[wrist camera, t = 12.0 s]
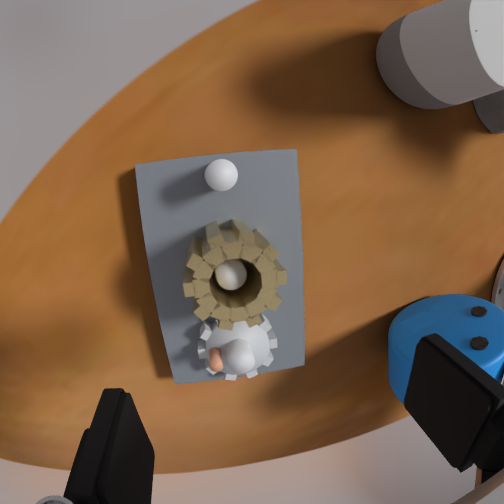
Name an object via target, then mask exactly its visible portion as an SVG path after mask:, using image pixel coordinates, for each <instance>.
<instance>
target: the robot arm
mask: <svg viewBox="0 0 504 504" xmlns="http://www.w3.org/2000/svg"><path fill="white" fill-rule="evenodd" d="M491 303H493V304H495V305H496V306H498V307H499V308H500V309H501V310H503V311H504V259H503V261H502V263H501V265H500V267H499V270H498V272H497V275H496V279H495V282H494V286H493V291H492V299H491ZM404 406H405V408H406V410H407V411H408V412H409V413H410V415H411V416H412V417H413V418H414V419H415V421H416V422H417V423H418V425H419V426H420V427H421V428H422V429H423V431H424V432H425V433H426V434H427V436H428V437H429V438H430V439H431V441H432V442H433V443H434V444H435V446H436V447H437V448H438V449H439V451H440V452H441V453H442V455H443V456H444V457H445V458H446V460H447V461H448V462H449V463H450V465H451V466H452V467H454V468H457V469H458V470H459V471H460V472H463V471H464V470H466V469H468V468H469V467H471V466H472V465H473V463H475V465H476V466H477V470H476V480H475V489H474V490H473V491H471V492H469V493H468V494H466V495H465V496H463V497H462V498H460V499H458V500H457V501H455V502H454V503H452V504H504V386H503V385H502V384H500V383H499V382H498V381H497V380H496V379H494V378H493V377H492V376H491V375H489V374H488V373H487V372H486V371H485V370H483V369H482V368H481V367H480V366H478V365H477V364H476V363H475V362H473V361H472V360H471V359H470V358H468V357H467V356H466V355H464V354H463V353H462V352H461V351H459V350H458V349H457V348H456V347H454V346H453V345H452V344H450V343H449V342H448V341H447V340H445V339H444V338H443V337H441V336H440V335H439V334H437V333H433V334H430V335H427V336H424V337H422V338H421V339H420V340H419V343H417V345H416V349H415V354H414V359H413V364H412V369H411V373H410V377H409V382H408V386H407V390H406V394H405V398H404ZM154 459H155V455H154V449H153V447H152V444H151V442H150V440H149V438H148V435H147V433H146V431H145V429H144V426H143V424H142V422H141V419H140V417H139V414H138V412H137V409H136V407H135V404H134V402H133V399H132V397H131V394H130V393H125V391H124V390H123V389H122V388H110V389H104V390H103V393H102V395H101V398H100V401H99V403H98V406H97V409H96V412H95V415H94V417H93V420H92V423H91V426H90V428H87V429H86V430H85V431H84V433H83V436H82V438H81V441H80V444H79V447H78V450H77V453H76V456H75V459H74V463H73V466H72V469H71V472H70V476H69V479H68V482H67V486H66V489H65V492H64V496H63V497H61V496H48V497H45V498H43V499H41V500H40V501H38V502H37V503H36V504H151V495H152V482H153V470H154Z"/></svg>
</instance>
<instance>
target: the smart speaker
mask: <svg viewBox="0 0 504 504" xmlns="http://www.w3.org/2000/svg"><path fill="white" fill-rule="evenodd" d="M376 61H377V66H378V69H379V72H380V74H381V76H382V78H383V80H384V82H385V83H386V85H387V86H388V88H389V89H390V90H391V91H392V92H393V93H394V94H395V95H396V96H397V97H398V98H400V99H401V100H402V101H404V102H406V103H408V104H410V105H412V106H415V107H418V108H423V109H442V108H447V107H451V106H455V105H459V104H462V103H465V102H468V101H471V100H474V99H476V98H479V97H482V96H485V95H488V94H491V93H494V92H497V91H500V90H503V89H504V0H445V1H442V2H439V3H436V4H433V5H431V6H428V7H425V8H422V9H420V10H417V11H415V12H412V13H410V14H408V15H406V16H404V17H402V18H400V19H398V20H396V21H395V22H393V23H392V24H391V25H389V26H388V27H387V28H386V29H385V31H384V32H383V33H382V35H381V36H380V38H379V41H378V43H377V48H376Z"/></svg>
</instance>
